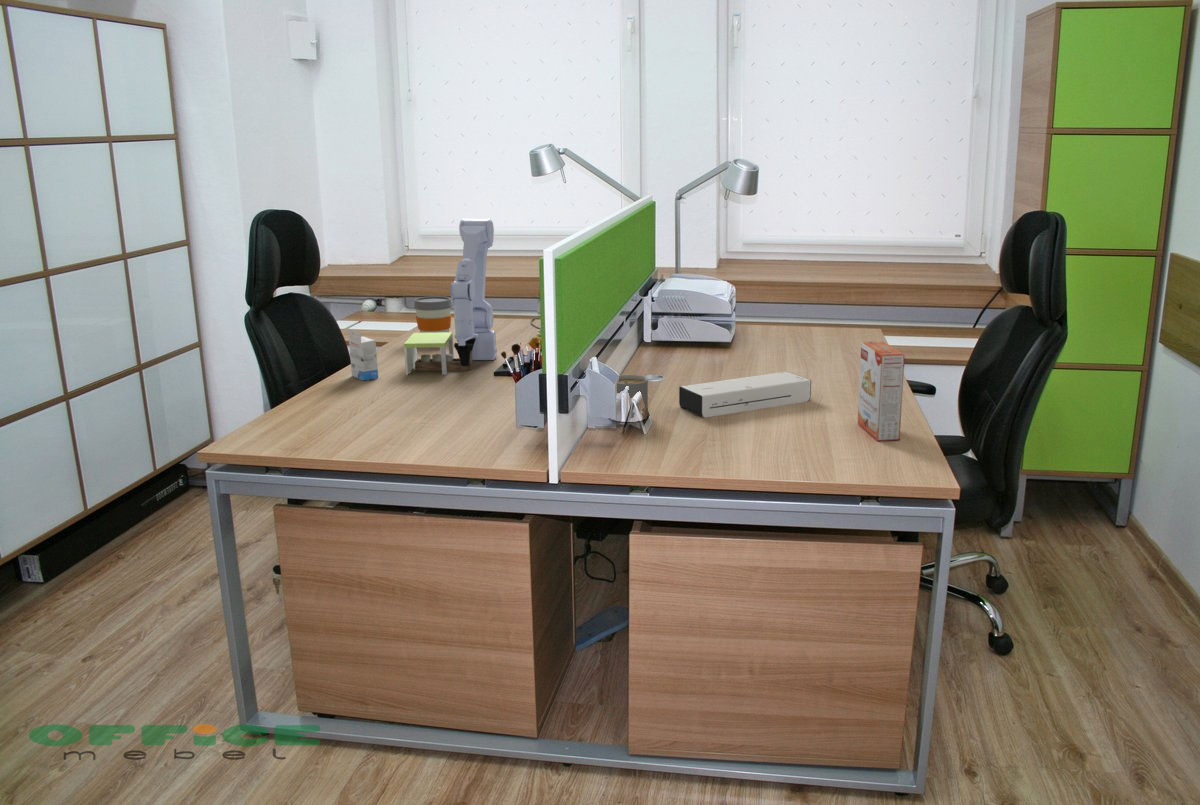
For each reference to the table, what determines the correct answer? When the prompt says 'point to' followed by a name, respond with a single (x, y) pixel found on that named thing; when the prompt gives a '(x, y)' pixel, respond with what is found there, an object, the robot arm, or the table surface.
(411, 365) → the green top stool
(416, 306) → the reusable coffee cup
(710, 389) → the laminator
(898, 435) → the cracker box
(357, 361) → the ink box
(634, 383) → the coffee mug
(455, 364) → the wooden slotted rack
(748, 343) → the table surface
